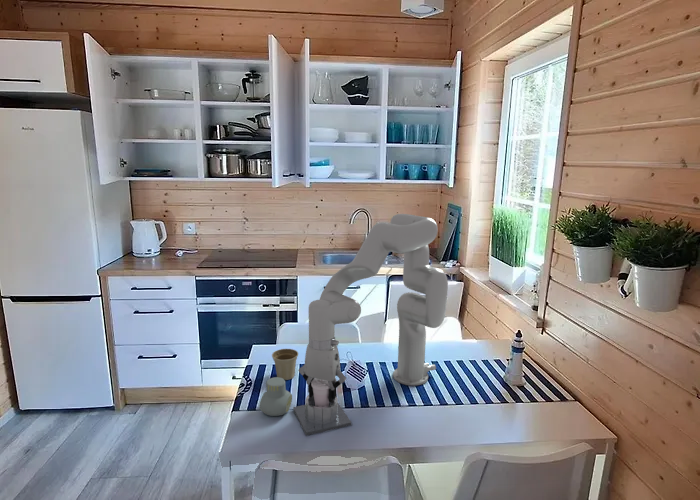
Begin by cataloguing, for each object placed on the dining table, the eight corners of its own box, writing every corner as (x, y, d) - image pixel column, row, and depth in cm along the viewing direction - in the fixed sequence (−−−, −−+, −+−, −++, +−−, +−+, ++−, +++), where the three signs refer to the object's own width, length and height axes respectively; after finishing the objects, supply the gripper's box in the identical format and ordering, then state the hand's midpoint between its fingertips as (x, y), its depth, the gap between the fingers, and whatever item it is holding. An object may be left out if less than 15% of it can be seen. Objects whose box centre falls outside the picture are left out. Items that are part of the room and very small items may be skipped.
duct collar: (335, 401, 142) (335, 384, 141) (351, 425, 130) (351, 407, 128) (293, 410, 137) (293, 392, 136) (306, 436, 124) (305, 417, 123)
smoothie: (329, 403, 137) (328, 362, 134) (335, 414, 131) (335, 371, 128) (309, 406, 135) (308, 365, 132) (314, 418, 129) (314, 375, 126)
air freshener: (284, 422, 131) (283, 391, 129) (257, 419, 132) (256, 389, 130) (294, 402, 141) (293, 374, 139) (269, 400, 143) (268, 371, 140)
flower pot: (267, 379, 156) (266, 357, 154) (281, 368, 164) (280, 346, 162) (290, 385, 152) (290, 362, 150) (303, 372, 161) (303, 351, 159)
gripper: (353, 341, 128) (353, 397, 132) (302, 332, 135) (303, 385, 139) (343, 352, 122) (343, 410, 125) (289, 341, 128) (291, 397, 132)
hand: (322, 396), depth 132 cm, fingers closed on smoothie, 6 cm apart
